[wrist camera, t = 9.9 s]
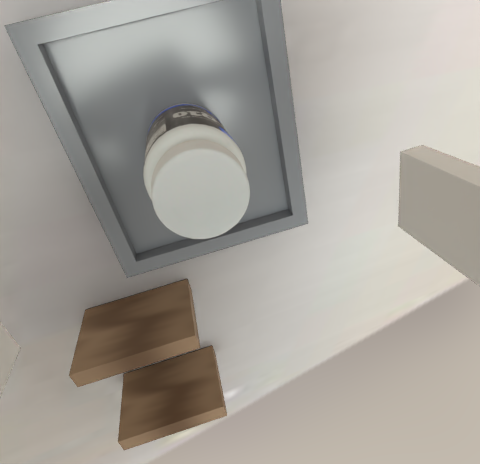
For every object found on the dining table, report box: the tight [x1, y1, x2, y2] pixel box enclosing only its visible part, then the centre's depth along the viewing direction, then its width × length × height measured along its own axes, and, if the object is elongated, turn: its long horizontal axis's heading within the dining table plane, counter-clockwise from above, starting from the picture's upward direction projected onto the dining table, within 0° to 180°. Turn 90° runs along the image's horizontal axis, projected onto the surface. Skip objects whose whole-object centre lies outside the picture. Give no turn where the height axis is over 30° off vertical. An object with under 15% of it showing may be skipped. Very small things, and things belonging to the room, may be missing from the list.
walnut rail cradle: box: [69, 279, 227, 450], centre depth 27 cm, size 8×9×6 cm
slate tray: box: [5, 0, 308, 278], centre depth 21 cm, size 13×15×2 cm
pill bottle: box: [143, 103, 250, 239], centre depth 18 cm, size 5×5×8 cm
